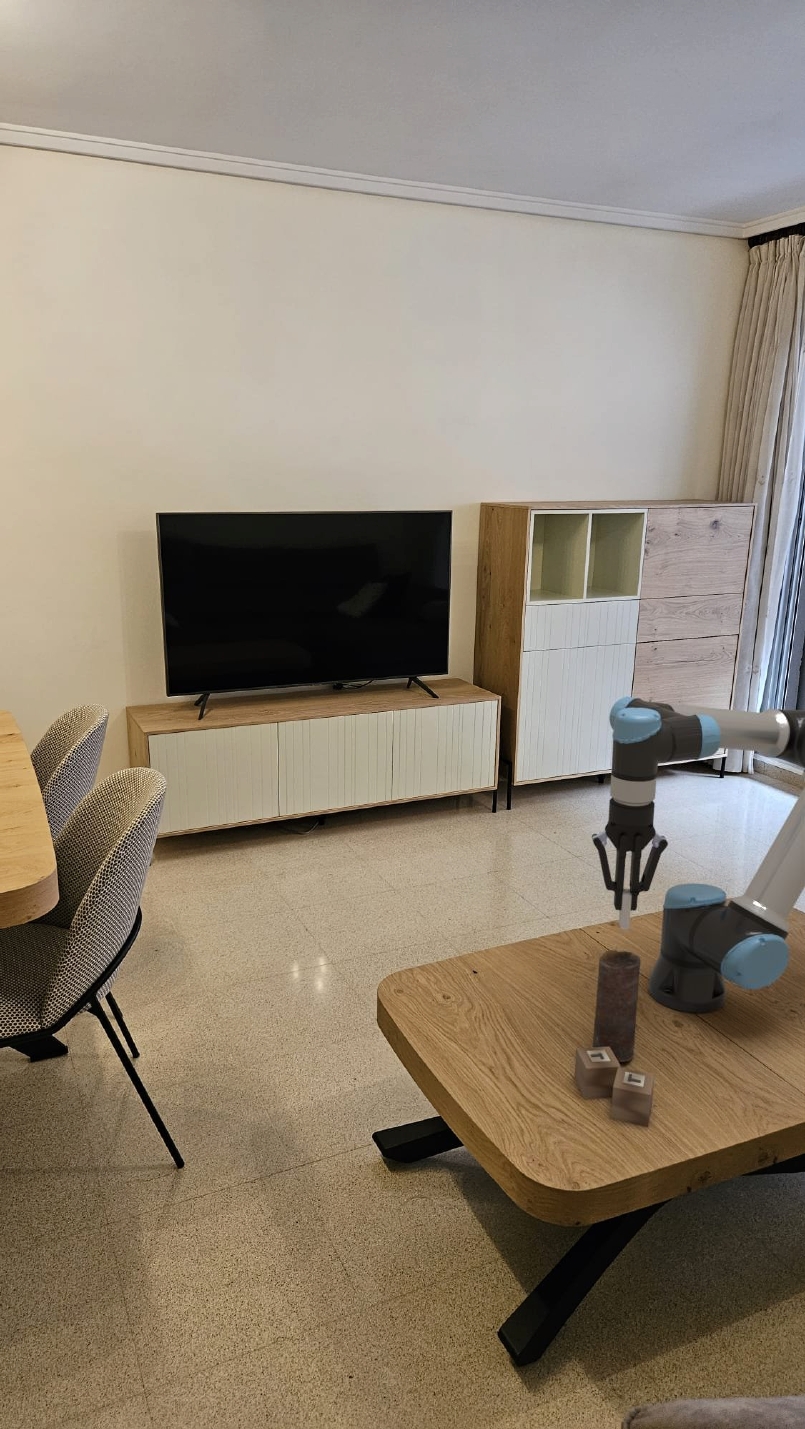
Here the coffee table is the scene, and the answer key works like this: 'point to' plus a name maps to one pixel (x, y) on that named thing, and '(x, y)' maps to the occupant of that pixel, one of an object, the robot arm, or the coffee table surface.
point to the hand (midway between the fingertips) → (623, 926)
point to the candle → (617, 1003)
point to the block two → (595, 1072)
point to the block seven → (632, 1096)
